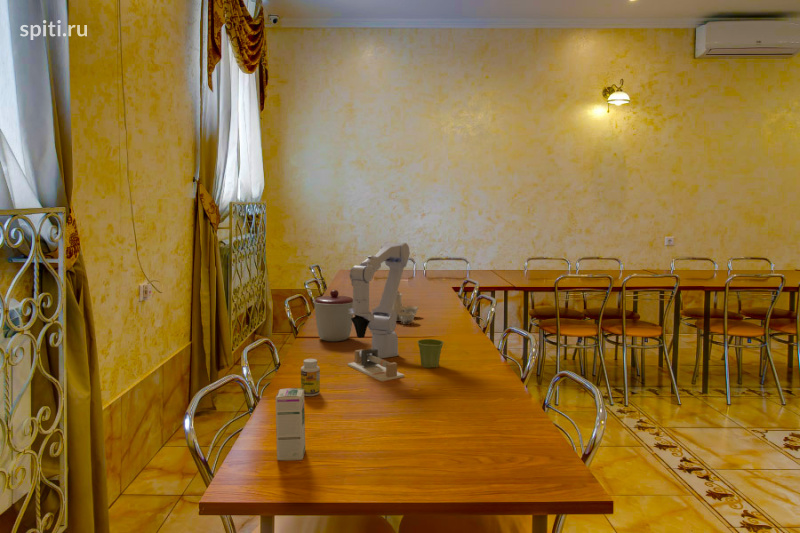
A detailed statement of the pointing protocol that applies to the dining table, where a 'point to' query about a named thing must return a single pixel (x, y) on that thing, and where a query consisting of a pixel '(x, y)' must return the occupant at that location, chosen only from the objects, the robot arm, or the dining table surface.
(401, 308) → the chinaware
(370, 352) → the grey square collar
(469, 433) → the dining table surface
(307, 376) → the supplement bottle
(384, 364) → the pipe rig
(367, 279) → the robot arm
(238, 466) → the dining table surface
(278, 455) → the syrup box
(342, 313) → the canister
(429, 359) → the plant pot
